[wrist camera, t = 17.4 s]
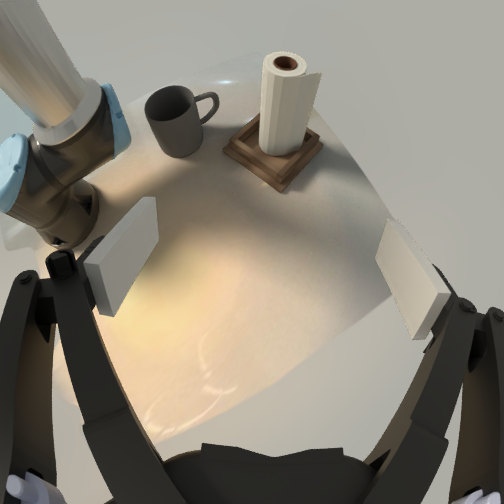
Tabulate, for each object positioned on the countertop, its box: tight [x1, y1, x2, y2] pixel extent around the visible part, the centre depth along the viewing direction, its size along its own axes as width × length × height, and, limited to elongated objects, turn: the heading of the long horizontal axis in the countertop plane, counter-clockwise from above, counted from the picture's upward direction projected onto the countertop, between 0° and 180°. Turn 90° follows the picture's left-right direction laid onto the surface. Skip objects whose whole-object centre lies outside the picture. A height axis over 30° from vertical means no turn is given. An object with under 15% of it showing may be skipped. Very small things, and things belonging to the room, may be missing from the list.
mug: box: [144, 86, 219, 157], centre depth 49 cm, size 14×9×12 cm
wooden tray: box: [223, 113, 323, 193], centre depth 53 cm, size 14×14×4 cm
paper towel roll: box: [259, 52, 322, 156], centre depth 43 cm, size 7×6×21 cm
